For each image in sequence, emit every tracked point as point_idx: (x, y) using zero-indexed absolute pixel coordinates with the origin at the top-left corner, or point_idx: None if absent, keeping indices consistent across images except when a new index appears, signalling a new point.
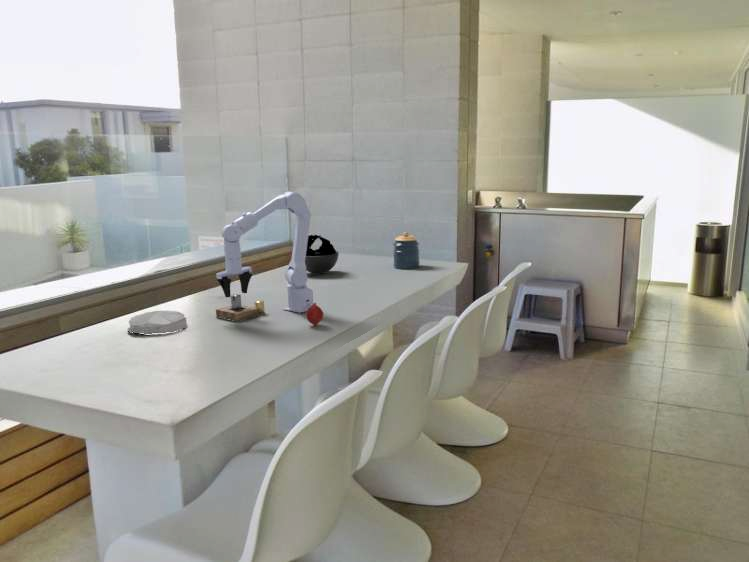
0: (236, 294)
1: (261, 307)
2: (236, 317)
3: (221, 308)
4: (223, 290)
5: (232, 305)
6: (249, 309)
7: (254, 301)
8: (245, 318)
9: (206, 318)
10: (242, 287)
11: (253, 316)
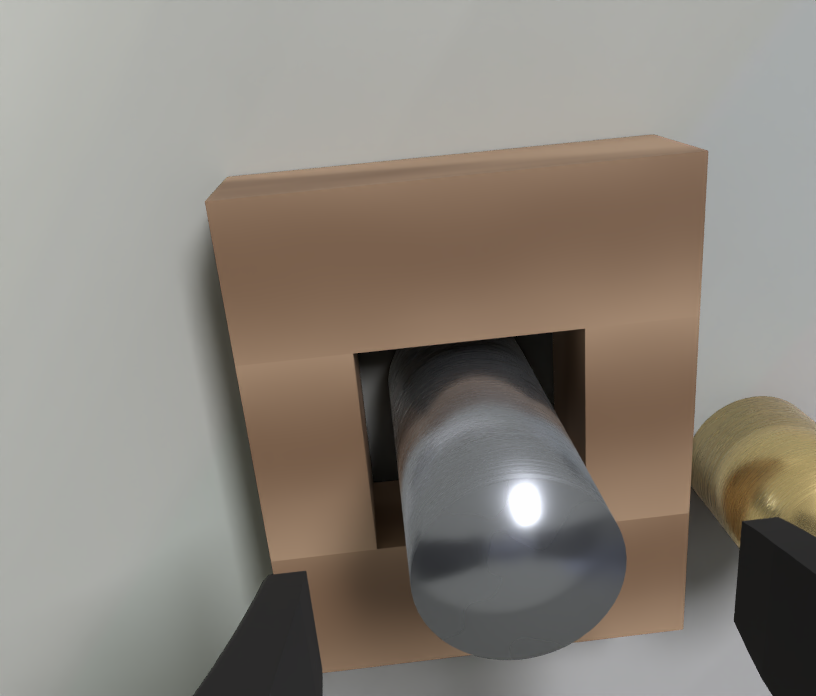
0: (587, 521)
1: None
2: None
3: (314, 224)
4: (211, 684)
5: (399, 482)
6: None
7: (814, 497)
8: None
9: (77, 96)
10: (813, 626)
11: None
